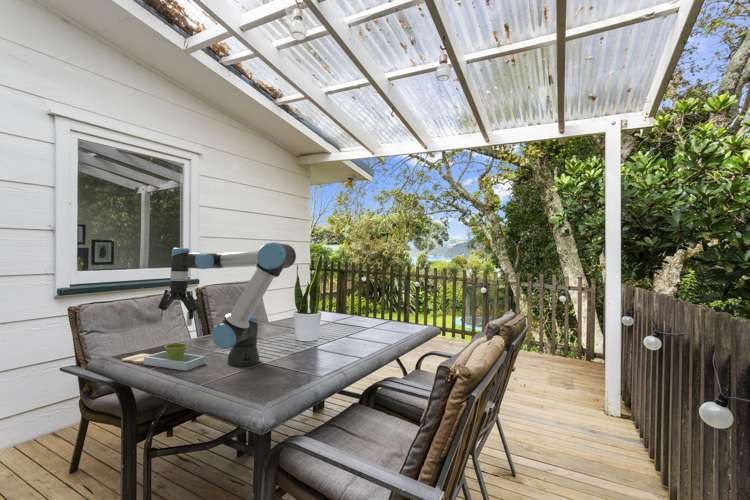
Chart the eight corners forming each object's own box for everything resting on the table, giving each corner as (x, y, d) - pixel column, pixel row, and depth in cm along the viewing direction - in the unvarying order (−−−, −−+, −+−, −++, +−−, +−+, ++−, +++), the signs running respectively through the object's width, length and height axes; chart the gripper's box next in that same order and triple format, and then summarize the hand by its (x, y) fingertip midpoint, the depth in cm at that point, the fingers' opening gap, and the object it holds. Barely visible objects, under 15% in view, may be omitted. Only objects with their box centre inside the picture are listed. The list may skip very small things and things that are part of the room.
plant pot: (176, 367, 170) (177, 348, 170) (158, 365, 172) (159, 346, 172) (190, 362, 179) (191, 344, 179) (173, 360, 181) (174, 342, 181)
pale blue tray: (204, 363, 178) (205, 356, 178) (186, 370, 167) (187, 362, 167) (164, 358, 184) (164, 351, 184) (143, 364, 172) (144, 356, 172)
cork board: (160, 357, 184) (161, 355, 184) (141, 363, 173) (141, 361, 173) (141, 355, 187) (142, 353, 187) (121, 361, 176) (121, 358, 176)
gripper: (206, 281, 177) (204, 325, 177) (163, 278, 183) (161, 321, 182) (195, 281, 170) (193, 328, 169) (151, 279, 176) (148, 323, 175)
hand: (176, 324), depth 176 cm, fingers open, 13 cm apart
